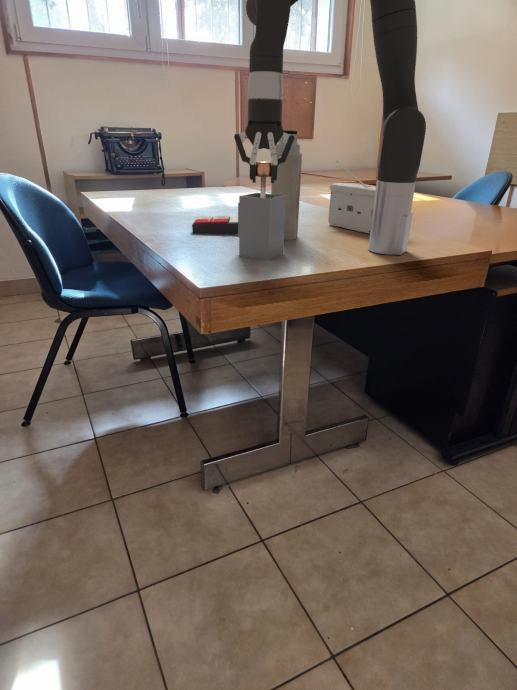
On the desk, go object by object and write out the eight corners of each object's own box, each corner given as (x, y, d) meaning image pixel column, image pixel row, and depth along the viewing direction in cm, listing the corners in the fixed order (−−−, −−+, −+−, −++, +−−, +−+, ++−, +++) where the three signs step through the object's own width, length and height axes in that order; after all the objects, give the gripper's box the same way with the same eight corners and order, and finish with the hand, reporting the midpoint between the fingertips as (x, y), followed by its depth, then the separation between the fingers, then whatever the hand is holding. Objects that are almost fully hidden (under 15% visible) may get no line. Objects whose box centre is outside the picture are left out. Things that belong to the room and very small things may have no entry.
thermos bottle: (298, 234, 134) (305, 130, 122) (295, 240, 127) (301, 130, 115) (272, 233, 135) (275, 129, 123) (267, 238, 128) (270, 129, 116)
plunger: (278, 248, 112) (281, 162, 104) (266, 253, 107) (269, 163, 99) (257, 245, 115) (258, 160, 106) (244, 250, 110) (245, 162, 101)
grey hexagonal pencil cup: (283, 253, 113) (285, 195, 107) (267, 260, 107) (269, 198, 101) (248, 248, 118) (248, 192, 112) (231, 254, 111) (231, 195, 105)
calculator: (196, 215, 141) (244, 214, 141) (197, 229, 143) (244, 228, 143) (191, 222, 131) (243, 220, 131) (192, 236, 133) (243, 235, 133)
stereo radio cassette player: (391, 233, 139) (401, 163, 130) (374, 236, 134) (383, 164, 126) (341, 223, 154) (347, 159, 145) (324, 225, 149) (329, 160, 141)
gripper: (296, 99, 100) (292, 181, 108) (233, 98, 100) (233, 180, 108) (299, 97, 94) (294, 185, 101) (231, 95, 94) (231, 183, 101)
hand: (263, 182), depth 104 cm, fingers closed on plunger, 3 cm apart
